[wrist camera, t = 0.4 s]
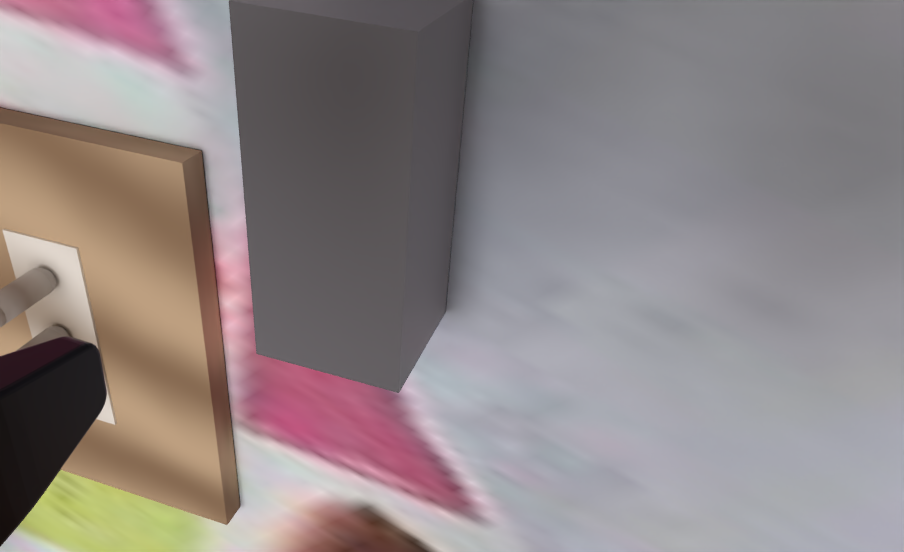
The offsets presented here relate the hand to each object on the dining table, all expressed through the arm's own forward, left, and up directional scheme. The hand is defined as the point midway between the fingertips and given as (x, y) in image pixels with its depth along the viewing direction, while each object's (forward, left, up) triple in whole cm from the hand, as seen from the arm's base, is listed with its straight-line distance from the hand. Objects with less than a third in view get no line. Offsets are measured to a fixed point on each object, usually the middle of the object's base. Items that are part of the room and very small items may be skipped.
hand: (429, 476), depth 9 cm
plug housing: (-2, +5, -12) cm, 14 cm away
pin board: (-11, +17, -12) cm, 24 cm away
